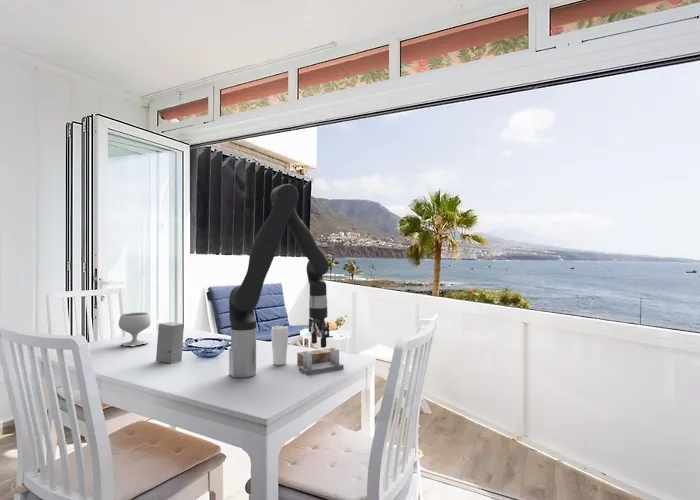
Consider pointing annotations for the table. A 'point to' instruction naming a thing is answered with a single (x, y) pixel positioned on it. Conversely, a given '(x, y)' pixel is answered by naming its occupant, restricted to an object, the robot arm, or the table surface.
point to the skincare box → (169, 342)
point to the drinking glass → (279, 344)
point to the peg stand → (320, 367)
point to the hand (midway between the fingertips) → (318, 345)
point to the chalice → (134, 326)
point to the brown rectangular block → (316, 356)
